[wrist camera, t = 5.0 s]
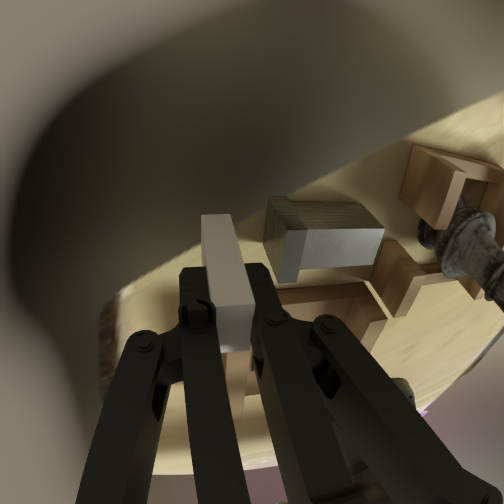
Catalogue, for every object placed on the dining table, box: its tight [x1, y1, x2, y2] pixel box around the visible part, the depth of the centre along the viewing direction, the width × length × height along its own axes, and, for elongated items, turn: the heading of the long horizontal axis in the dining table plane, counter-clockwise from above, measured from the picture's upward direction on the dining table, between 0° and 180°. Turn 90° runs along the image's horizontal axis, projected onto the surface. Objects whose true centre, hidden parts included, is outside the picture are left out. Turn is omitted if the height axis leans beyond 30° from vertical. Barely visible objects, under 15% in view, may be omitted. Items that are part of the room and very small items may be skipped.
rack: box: [221, 282, 388, 421], centre depth 24 cm, size 12×11×4 cm
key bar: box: [263, 196, 385, 284], centre depth 17 cm, size 3×6×4 cm, turn 85°
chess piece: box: [418, 194, 504, 312], centre depth 16 cm, size 6×6×12 cm
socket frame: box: [369, 145, 504, 318], centre depth 20 cm, size 11×11×4 cm
